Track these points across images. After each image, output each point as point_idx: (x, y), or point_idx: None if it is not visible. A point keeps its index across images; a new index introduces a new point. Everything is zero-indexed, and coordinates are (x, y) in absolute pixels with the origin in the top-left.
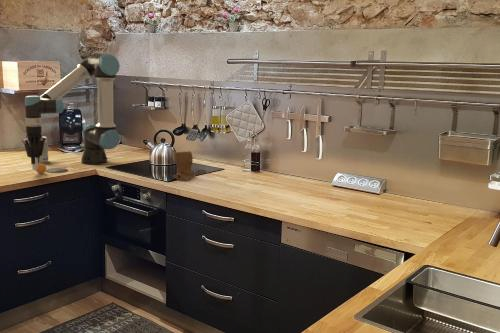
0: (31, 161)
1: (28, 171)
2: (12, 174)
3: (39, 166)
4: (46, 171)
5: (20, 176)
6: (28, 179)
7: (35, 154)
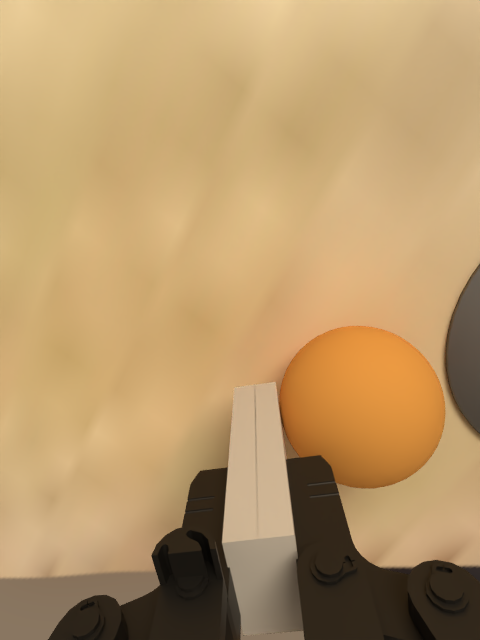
0: (187, 515)
1: (293, 137)
2: (24, 190)
3: None
4: (457, 326)
5: (72, 361)
6: (90, 524)
7: (324, 633)
